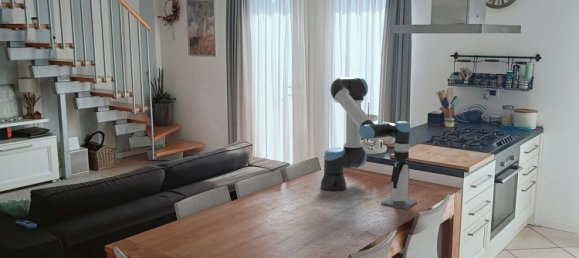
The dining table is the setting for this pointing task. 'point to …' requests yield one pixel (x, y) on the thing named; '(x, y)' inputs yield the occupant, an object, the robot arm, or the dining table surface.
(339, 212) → the dining table surface
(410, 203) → the slate board
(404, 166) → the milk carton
